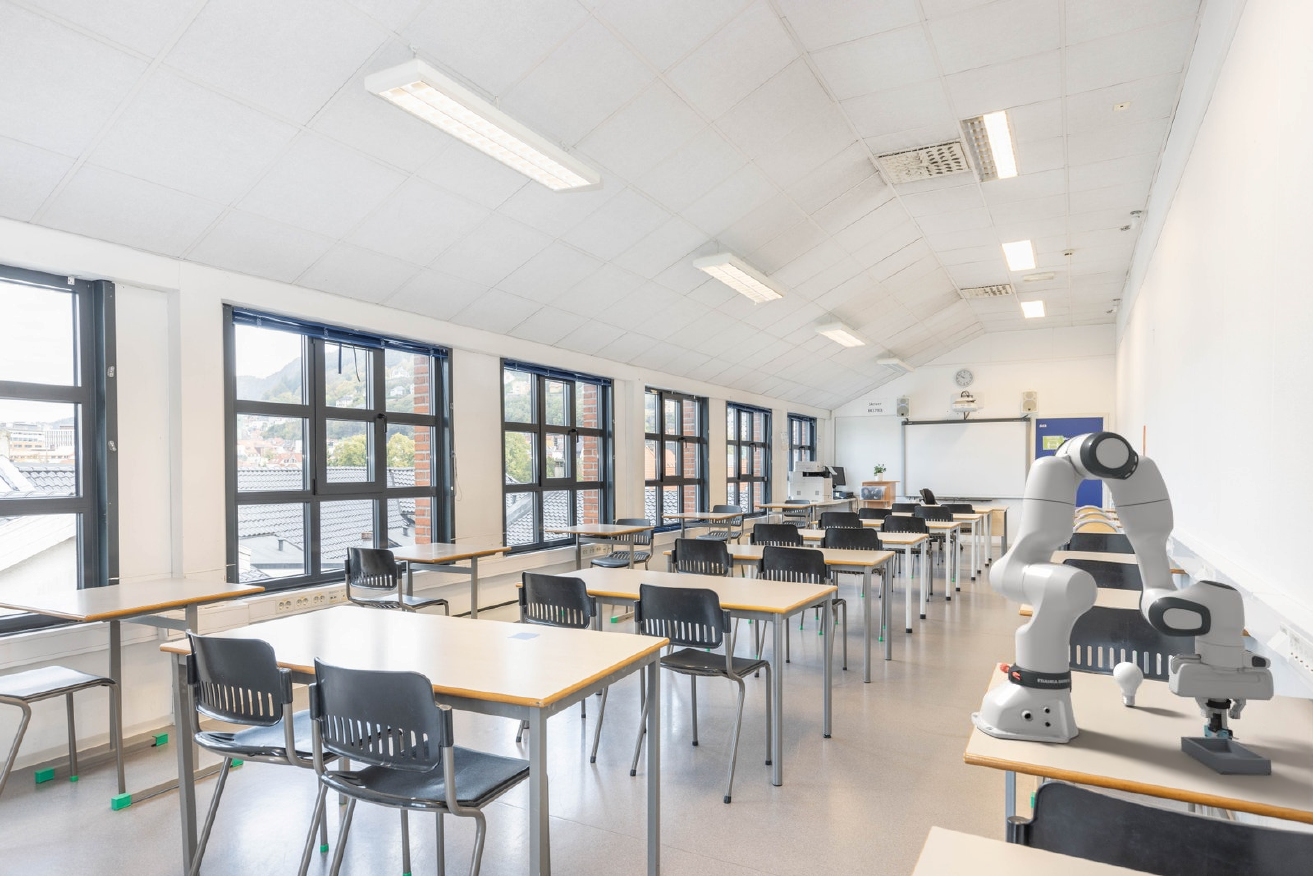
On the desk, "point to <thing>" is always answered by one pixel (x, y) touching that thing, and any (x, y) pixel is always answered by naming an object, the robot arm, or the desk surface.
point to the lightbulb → (1128, 681)
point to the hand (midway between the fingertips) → (1220, 717)
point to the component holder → (1226, 756)
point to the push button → (1218, 719)
